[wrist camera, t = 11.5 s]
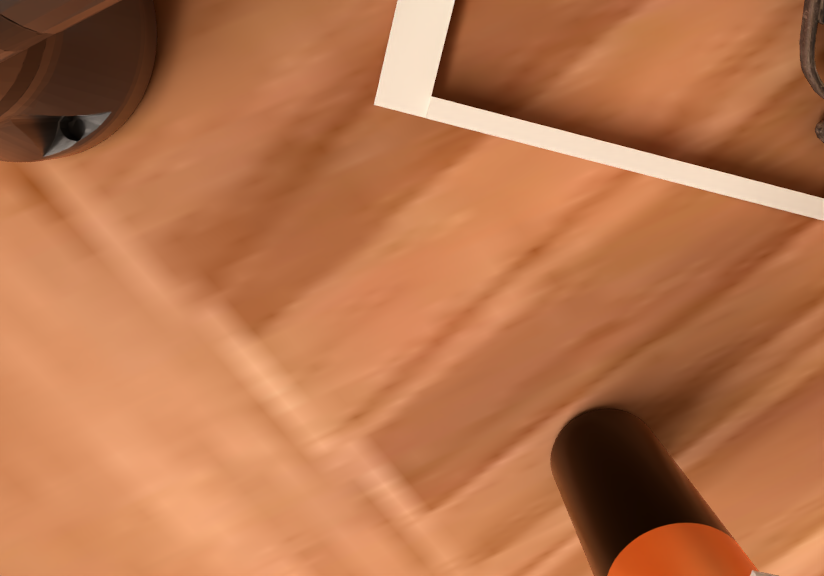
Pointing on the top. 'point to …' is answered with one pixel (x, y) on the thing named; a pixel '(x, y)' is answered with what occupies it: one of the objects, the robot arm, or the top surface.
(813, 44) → the brown spool with wire
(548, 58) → the top surface
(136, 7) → the robot arm
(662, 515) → the battery
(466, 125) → the light grey frame
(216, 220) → the top surface
